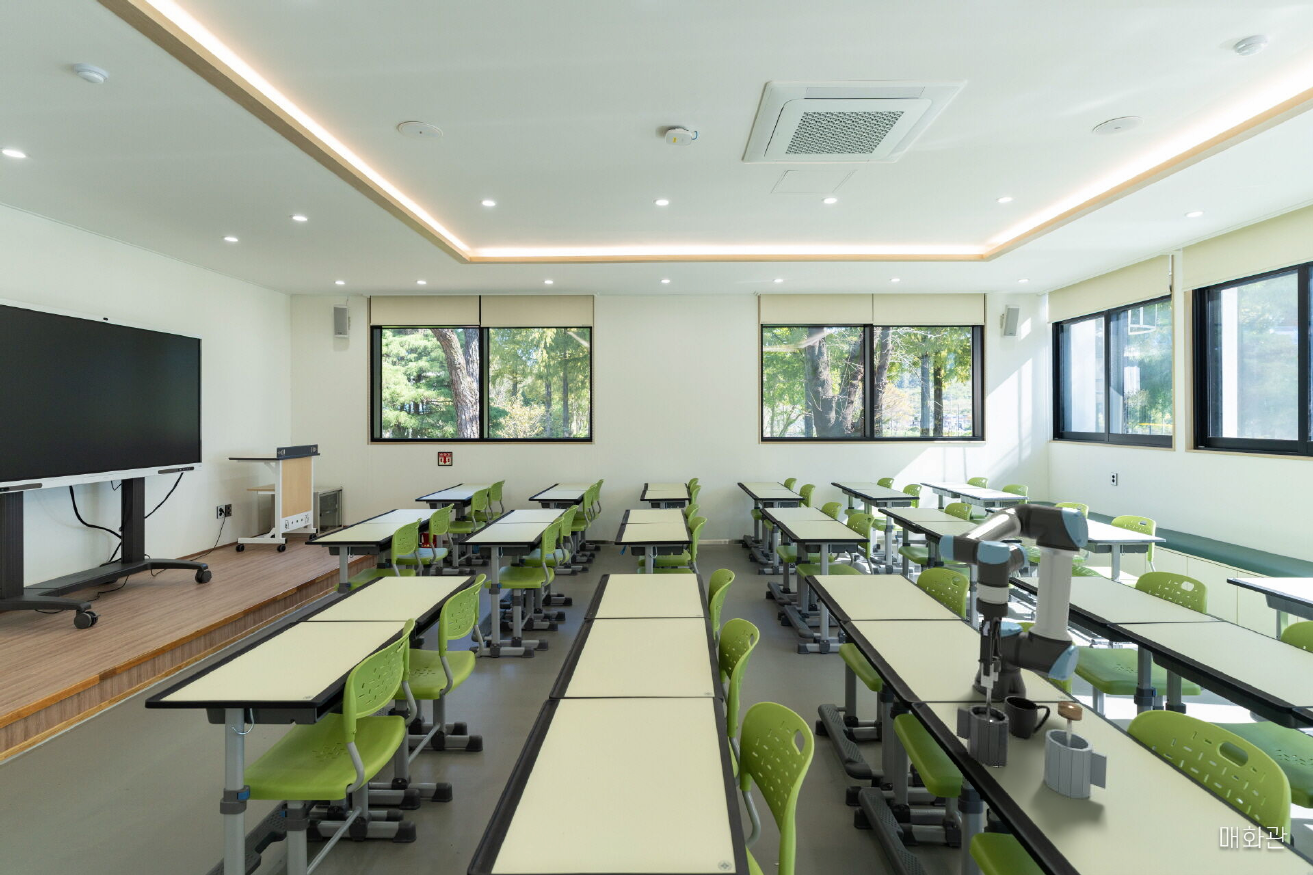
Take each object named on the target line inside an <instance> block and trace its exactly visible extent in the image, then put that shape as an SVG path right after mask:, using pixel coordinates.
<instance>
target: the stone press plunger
mask: <svg viewBox="0 0 1313 875" xmlns="http://www.w3.org/2000/svg"><path fill="white" fill-rule="evenodd" d="M1057 714H1058V716H1060V717H1062V718H1064V719H1066V731H1067V735H1066V746H1067V747H1070V748H1071V733H1073V731H1072V729H1073V728H1072V727H1073V722H1075V721H1076V722H1079V721H1082V720H1083V708H1082V707H1081V706H1080V705H1079V704H1076V703H1075V702H1071V701H1066V700H1065V701H1064V700H1060V701H1058V702H1057Z"/></svg>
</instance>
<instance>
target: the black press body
mask: <svg viewBox="0 0 1313 875" xmlns="http://www.w3.org/2000/svg"><path fill="white" fill-rule="evenodd" d="M986 706H987V705H981V704H974V705H970V706H969V707H968V709H966V708H964V707H960V706H958V707H957V709H956V710H957V711H956V737H958V738H961V739H964V740H966V741H967V743H966V752H968V753H967V755H968V756H969V755H970V756H971V757H972V758H974V759H975V760H976V761H978V762H980V763H979V764H981V765H983V764H985V765H984V766H986V765H987V766H986V767H990V766H998V767H997V768H1000V767H999V766H1003V767H1006V766H1007V765H1008V764H1007V763H1008V762H1009V761H1008V759H1009V737H1010V736H1009V734H1010V733H1009V718H1008V716H1007V715H1006V714H1005V711H1004V712H1003V711H1002V710H1000V709H998V708H995V707H992V706H991V714H990V715H992V716H995V717H997V718H998V719H1000V720H1001V721H1000V722H994V721H988V720H985V719H982V718H979V717H978V716H976V714H981V713H982V714H986ZM970 756H969V757H970ZM971 757H970V758H971ZM972 758H971V759H972ZM974 759H973V760H974ZM975 760H974V761H975ZM976 761H975V762H976ZM978 762H977V763H978ZM1005 765H1006V766H1005Z"/></svg>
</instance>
